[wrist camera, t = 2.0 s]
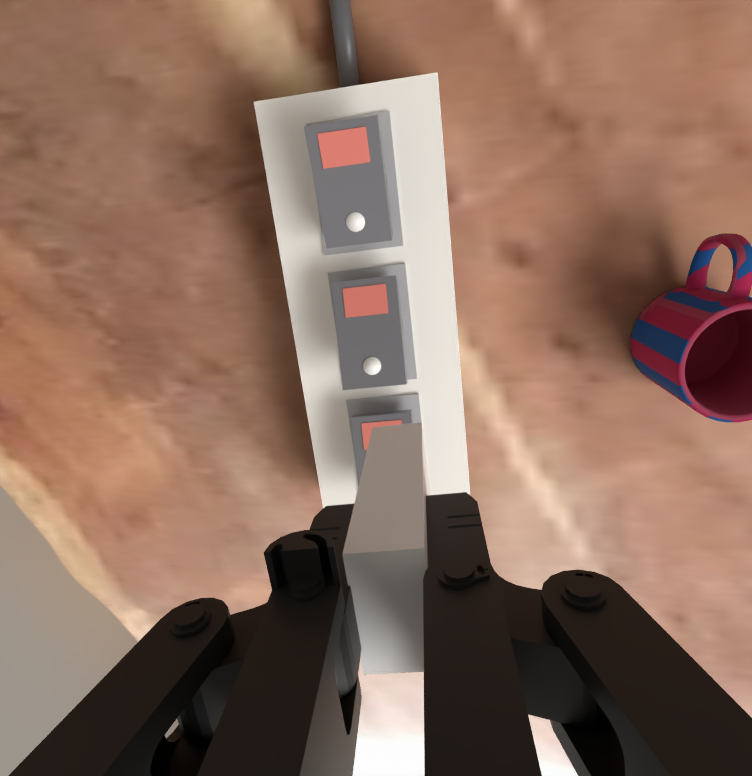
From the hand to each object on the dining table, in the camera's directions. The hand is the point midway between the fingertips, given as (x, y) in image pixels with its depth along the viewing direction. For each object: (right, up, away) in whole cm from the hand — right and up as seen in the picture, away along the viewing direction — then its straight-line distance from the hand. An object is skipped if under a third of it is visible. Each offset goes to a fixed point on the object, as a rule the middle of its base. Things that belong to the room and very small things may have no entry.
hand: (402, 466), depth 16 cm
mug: (+19, +7, +18) cm, 28 cm away
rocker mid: (-1, +5, +14) cm, 15 cm away
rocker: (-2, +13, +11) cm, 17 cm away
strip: (-1, +11, +18) cm, 22 cm away
